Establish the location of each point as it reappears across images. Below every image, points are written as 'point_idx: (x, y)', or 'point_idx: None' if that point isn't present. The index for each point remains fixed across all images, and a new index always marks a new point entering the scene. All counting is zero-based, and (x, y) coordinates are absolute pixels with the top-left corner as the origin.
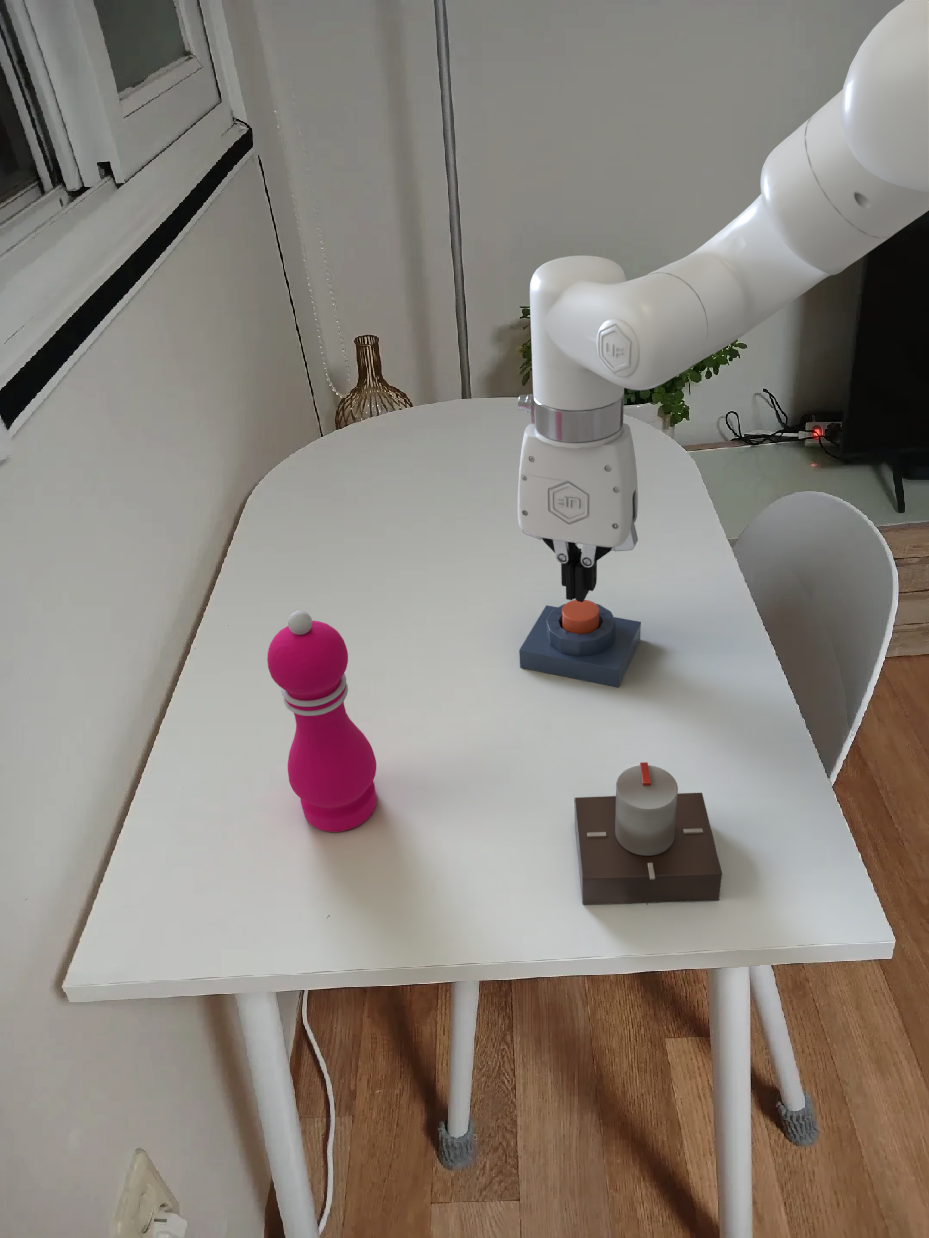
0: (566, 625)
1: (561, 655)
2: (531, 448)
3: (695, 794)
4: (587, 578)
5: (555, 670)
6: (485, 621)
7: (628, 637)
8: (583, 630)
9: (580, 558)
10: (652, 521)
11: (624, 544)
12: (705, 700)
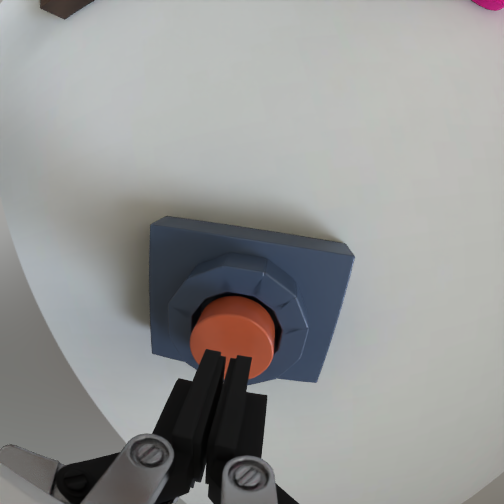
0: (259, 312)
1: (266, 251)
2: None
3: (45, 2)
4: (179, 407)
5: (278, 234)
6: (406, 346)
7: (157, 316)
8: (220, 302)
9: (182, 467)
10: None
11: (20, 466)
12: (61, 213)
